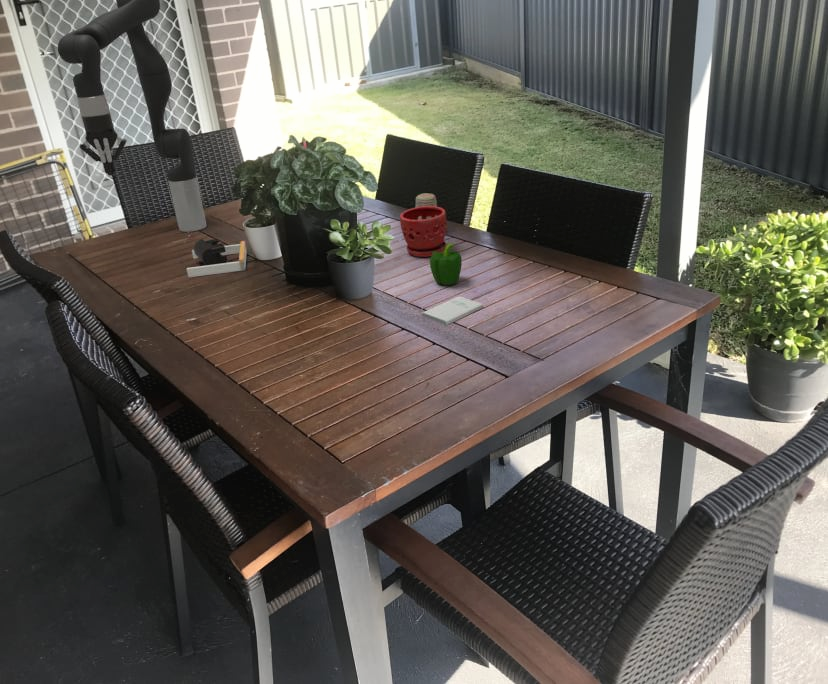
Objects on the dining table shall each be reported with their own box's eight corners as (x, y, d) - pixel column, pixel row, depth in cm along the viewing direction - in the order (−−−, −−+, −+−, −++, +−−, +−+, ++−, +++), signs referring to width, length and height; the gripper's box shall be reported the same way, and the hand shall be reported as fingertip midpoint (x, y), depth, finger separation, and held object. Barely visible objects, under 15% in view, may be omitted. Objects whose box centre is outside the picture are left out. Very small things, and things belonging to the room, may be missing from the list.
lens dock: (193, 257, 222) (191, 247, 220) (246, 251, 224) (244, 240, 222) (188, 277, 207) (186, 266, 205) (245, 270, 209) (243, 259, 207)
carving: (432, 237, 223) (429, 199, 218) (411, 234, 227) (408, 196, 221) (442, 231, 228) (440, 193, 222) (422, 228, 231) (420, 191, 226)
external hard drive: (422, 318, 172) (458, 301, 180) (446, 327, 167) (483, 309, 174) (421, 312, 172) (458, 295, 179) (446, 321, 166) (482, 303, 173)
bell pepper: (440, 290, 185) (437, 253, 180) (426, 280, 192) (424, 244, 187) (469, 283, 188) (467, 247, 183) (454, 274, 194) (453, 238, 190)
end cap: (196, 262, 218) (191, 240, 215) (219, 257, 221) (215, 235, 218) (205, 271, 210) (200, 249, 207) (228, 266, 213) (224, 244, 210)
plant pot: (420, 242, 220) (417, 203, 214) (456, 248, 213) (454, 208, 207) (393, 255, 211) (390, 215, 205) (431, 262, 203) (428, 221, 198)
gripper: (122, 108, 206) (137, 169, 214) (73, 113, 204) (90, 174, 212) (117, 112, 199) (133, 175, 207) (67, 117, 198) (84, 180, 205)
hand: (111, 174), depth 210 cm, fingers closed
